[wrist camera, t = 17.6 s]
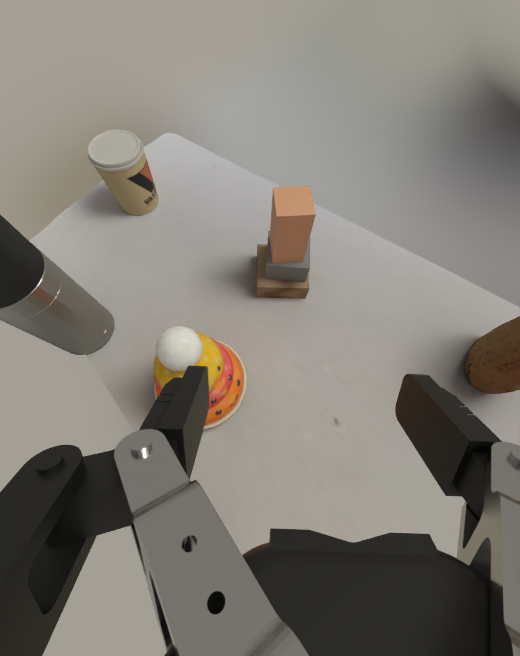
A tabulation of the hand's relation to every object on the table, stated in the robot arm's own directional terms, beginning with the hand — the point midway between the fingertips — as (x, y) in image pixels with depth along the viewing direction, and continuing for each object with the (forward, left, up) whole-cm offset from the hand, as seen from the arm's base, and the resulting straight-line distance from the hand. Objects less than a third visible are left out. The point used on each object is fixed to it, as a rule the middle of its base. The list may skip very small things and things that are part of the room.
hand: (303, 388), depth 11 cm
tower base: (-14, +23, -34) cm, 43 cm away
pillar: (-14, +23, -26) cm, 38 cm away
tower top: (-14, +24, -30) cm, 41 cm away
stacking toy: (-12, -1, -34) cm, 36 cm away
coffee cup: (-48, +20, -34) cm, 62 cm away
